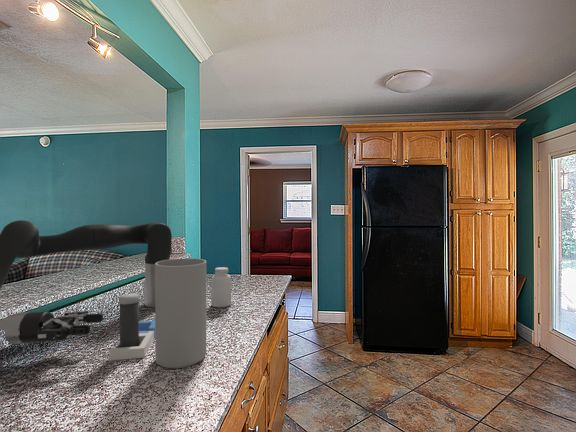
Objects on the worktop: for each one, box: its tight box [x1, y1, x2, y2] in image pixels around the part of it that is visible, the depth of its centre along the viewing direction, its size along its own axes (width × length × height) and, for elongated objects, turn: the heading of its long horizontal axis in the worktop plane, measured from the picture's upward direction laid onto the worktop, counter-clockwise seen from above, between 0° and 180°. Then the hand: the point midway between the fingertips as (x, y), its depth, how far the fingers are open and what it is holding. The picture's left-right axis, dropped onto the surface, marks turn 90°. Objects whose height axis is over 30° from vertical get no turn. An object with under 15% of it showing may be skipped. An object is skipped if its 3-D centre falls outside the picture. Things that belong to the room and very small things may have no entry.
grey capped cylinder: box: [118, 293, 140, 348], centre depth 85 cm, size 5×5×15 cm
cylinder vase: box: [154, 257, 207, 369], centre depth 81 cm, size 12×12×25 cm
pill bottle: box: [210, 266, 232, 308], centre depth 126 cm, size 8×8×15 cm
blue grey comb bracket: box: [108, 319, 155, 362], centre depth 90 cm, size 8×21×3 cm, turn 12°
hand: (96, 323), depth 83 cm, fingers open, 8 cm apart
